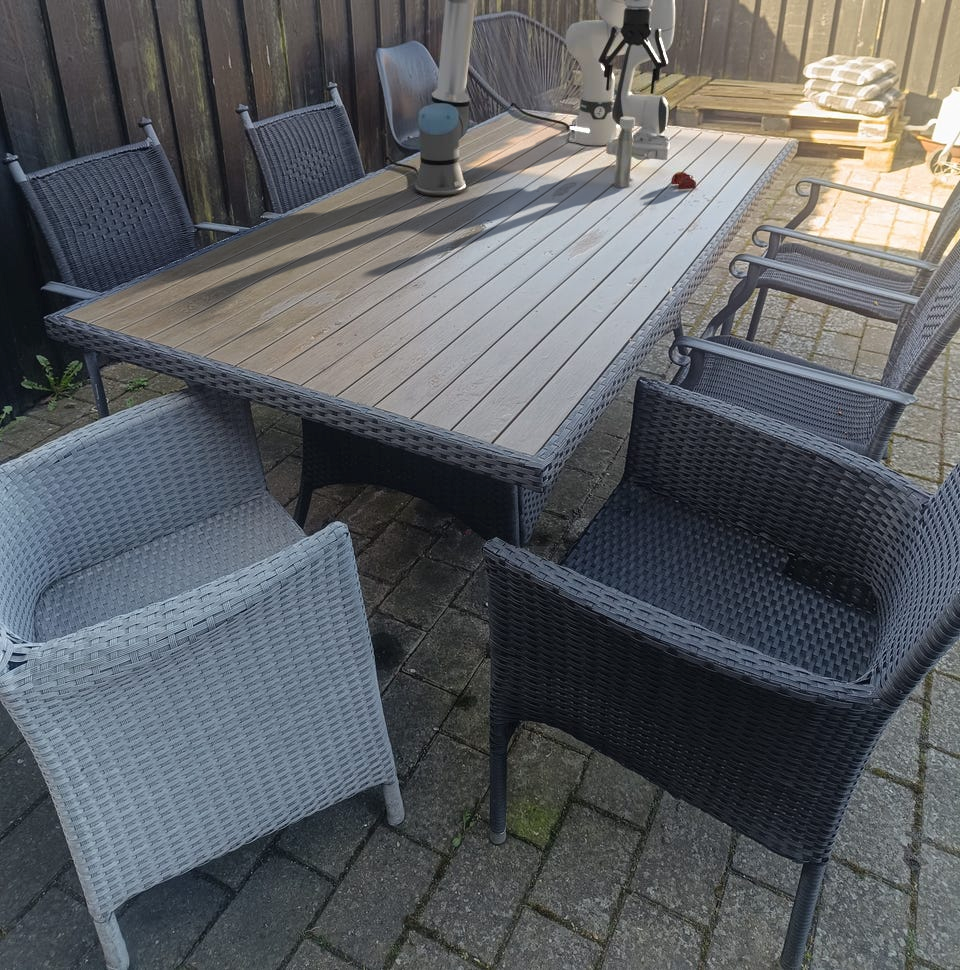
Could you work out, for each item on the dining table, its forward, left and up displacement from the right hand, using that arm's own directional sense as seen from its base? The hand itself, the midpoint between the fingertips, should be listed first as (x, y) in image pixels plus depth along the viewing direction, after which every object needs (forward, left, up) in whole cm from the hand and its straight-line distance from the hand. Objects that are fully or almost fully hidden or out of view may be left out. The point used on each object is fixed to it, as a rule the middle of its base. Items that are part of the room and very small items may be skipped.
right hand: (632, 155), depth 266 cm
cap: (+9, -5, +13) cm, 17 cm away
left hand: (+10, -5, +20) cm, 23 cm away
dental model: (+12, +14, -7) cm, 20 cm away
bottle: (+9, -5, -7) cm, 12 cm away
